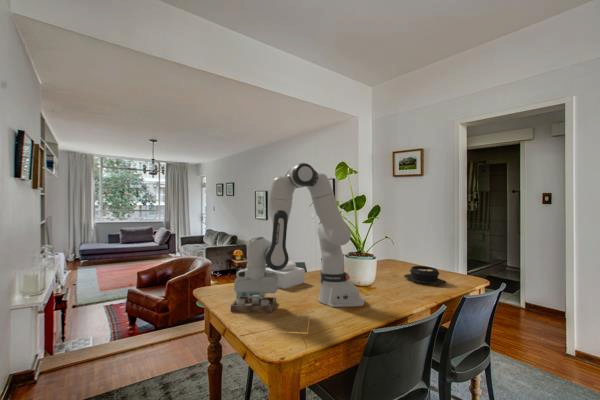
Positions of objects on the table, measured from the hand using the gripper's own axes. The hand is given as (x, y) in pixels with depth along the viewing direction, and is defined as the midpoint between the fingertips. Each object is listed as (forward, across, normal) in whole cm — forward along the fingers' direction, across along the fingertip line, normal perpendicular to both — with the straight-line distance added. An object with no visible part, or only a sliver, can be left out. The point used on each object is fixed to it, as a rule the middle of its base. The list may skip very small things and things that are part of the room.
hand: (255, 301), depth 134 cm
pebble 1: (+1, +6, +6) cm, 8 cm away
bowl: (+2, +6, -12) cm, 13 cm away
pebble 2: (+1, 0, 0) cm, 1 cm away
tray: (+2, 0, +2) cm, 3 cm away
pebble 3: (+1, -6, +6) cm, 8 cm away
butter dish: (+2, -8, -39) cm, 40 cm away
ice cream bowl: (+2, +10, -26) cm, 28 cm away
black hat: (+2, -94, -52) cm, 108 cm away
